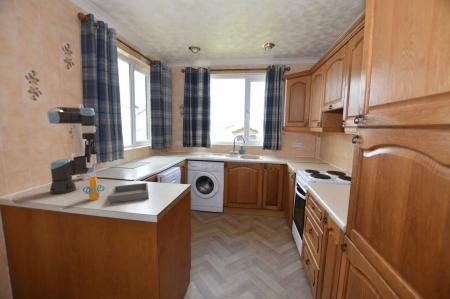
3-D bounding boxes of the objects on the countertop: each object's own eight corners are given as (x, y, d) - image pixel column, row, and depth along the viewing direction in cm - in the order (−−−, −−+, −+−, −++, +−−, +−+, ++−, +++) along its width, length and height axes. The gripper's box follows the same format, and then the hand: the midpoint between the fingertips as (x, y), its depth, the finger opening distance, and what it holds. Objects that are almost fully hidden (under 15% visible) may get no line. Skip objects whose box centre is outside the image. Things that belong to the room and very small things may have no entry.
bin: (114, 193, 144) (114, 186, 144) (147, 189, 152) (147, 182, 152) (110, 204, 124) (109, 196, 123) (148, 198, 132) (148, 191, 132)
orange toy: (93, 202, 127) (91, 179, 125) (79, 201, 129) (77, 178, 127) (108, 195, 139) (106, 174, 137) (95, 194, 141) (93, 173, 139)
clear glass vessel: (84, 180, 179) (82, 161, 177) (79, 178, 184) (77, 160, 182) (95, 178, 187) (94, 160, 185) (91, 176, 192) (89, 159, 190)
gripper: (91, 133, 118) (94, 168, 121) (99, 132, 141) (102, 162, 144) (76, 133, 116) (79, 169, 118) (87, 132, 139) (89, 163, 141)
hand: (91, 165), depth 131 cm, fingers open, 13 cm apart
